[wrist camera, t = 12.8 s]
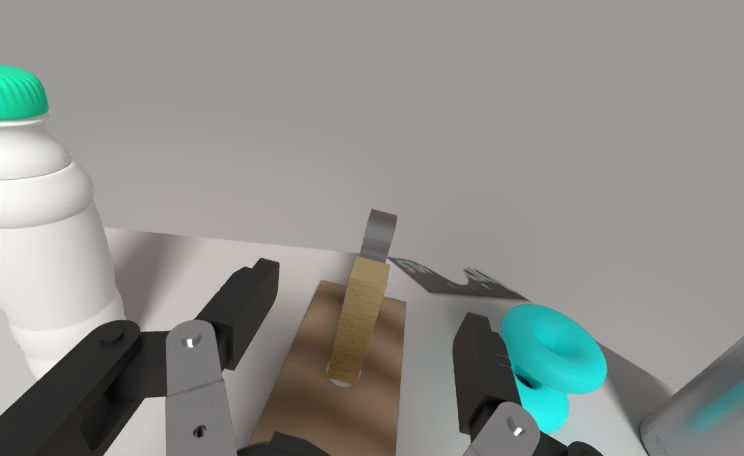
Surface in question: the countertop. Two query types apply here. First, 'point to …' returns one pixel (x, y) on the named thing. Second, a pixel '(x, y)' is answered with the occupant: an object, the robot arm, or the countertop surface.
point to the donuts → (551, 361)
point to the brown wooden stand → (336, 398)
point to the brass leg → (357, 318)
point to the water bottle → (48, 233)
